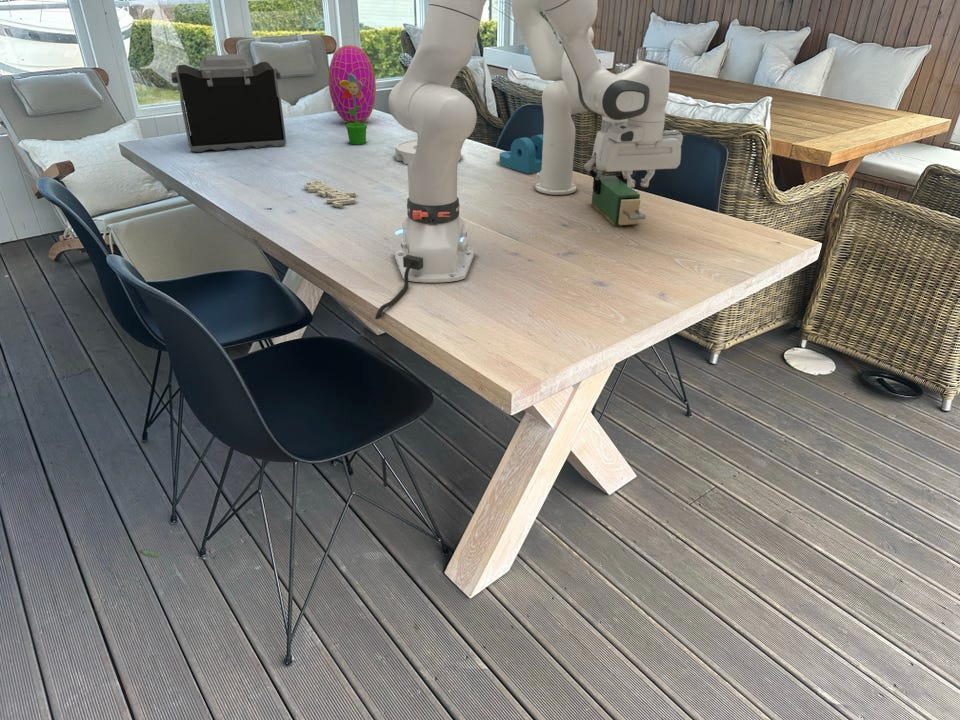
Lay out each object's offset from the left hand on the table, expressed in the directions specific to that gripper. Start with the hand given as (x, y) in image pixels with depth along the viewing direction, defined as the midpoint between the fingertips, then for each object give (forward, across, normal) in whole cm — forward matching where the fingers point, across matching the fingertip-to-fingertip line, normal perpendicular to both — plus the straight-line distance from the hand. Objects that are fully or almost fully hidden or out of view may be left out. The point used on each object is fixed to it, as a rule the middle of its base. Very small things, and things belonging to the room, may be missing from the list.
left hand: (637, 186), depth 175 cm
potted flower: (+12, +65, -110) cm, 129 cm away
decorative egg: (+12, +64, -147) cm, 161 cm away
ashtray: (+12, +42, -84) cm, 94 cm away
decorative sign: (+12, +77, -46) cm, 90 cm away
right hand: (+7, 0, -19) cm, 20 cm away
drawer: (+11, 0, -9) cm, 14 cm away
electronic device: (+12, +110, -117) cm, 161 cm away
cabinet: (+12, 0, -14) cm, 18 cm away
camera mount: (+12, +12, -68) cm, 70 cm away
